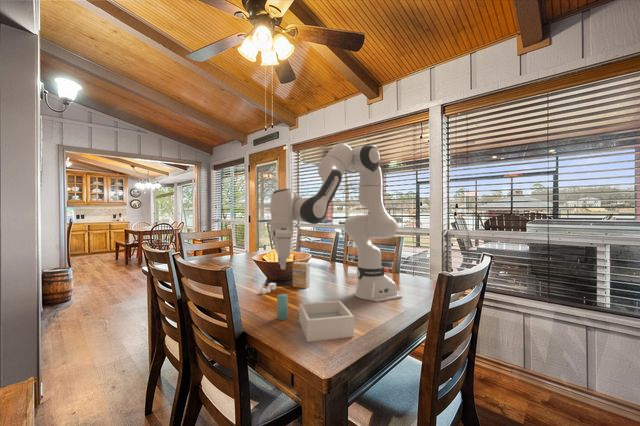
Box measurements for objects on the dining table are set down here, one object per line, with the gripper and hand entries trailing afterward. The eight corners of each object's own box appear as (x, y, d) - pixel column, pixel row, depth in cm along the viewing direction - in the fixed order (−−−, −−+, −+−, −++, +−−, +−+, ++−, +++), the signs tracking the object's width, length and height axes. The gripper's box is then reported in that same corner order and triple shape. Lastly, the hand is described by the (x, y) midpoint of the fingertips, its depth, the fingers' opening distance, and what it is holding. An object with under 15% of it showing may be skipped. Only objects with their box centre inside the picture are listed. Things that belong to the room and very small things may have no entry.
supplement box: (292, 287, 154) (292, 263, 153) (296, 284, 158) (296, 261, 158) (306, 288, 151) (306, 264, 150) (310, 286, 155) (309, 262, 155)
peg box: (340, 318, 113) (340, 300, 112) (354, 336, 97) (354, 316, 97) (299, 322, 109) (299, 303, 109) (307, 341, 93) (307, 320, 93)
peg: (286, 315, 115) (286, 293, 115) (288, 319, 111) (287, 296, 111) (276, 316, 114) (276, 294, 114) (277, 320, 110) (277, 297, 110)
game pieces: (270, 288, 153) (270, 282, 153) (276, 289, 152) (276, 283, 152) (258, 295, 142) (258, 288, 142) (264, 295, 141) (264, 289, 141)
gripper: (271, 228, 121) (271, 261, 121) (275, 233, 101) (275, 272, 101) (286, 228, 122) (286, 260, 123) (293, 233, 102) (293, 271, 103)
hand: (281, 266), depth 112 cm, fingers open, 8 cm apart
